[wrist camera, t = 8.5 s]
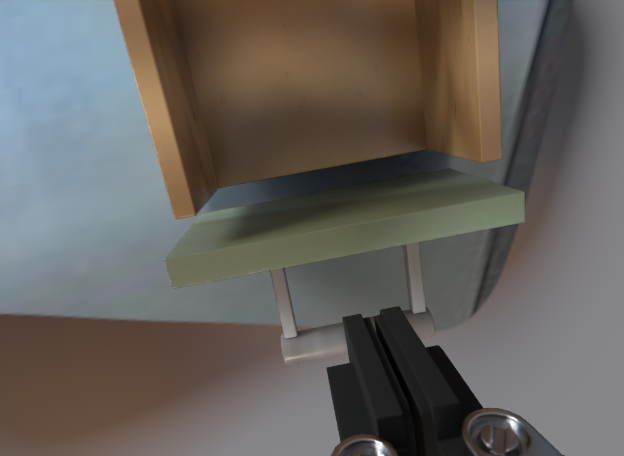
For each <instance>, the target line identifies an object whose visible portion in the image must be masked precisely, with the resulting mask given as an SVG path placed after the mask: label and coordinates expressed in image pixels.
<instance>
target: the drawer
mask: <svg viewBox="0 0 624 456" xmlns="http://www.w3.org/2000/svg"><path fill="white" fill-rule="evenodd" d="M113 2H114V6H115V9H116V13H117V16H118V20H119V23H120V27H121V30H122V34H123V37H124V41H125V44H126V48H127V52H128V55H129V59H130V62H131V66H132V69H133V73H134V76H135V80H136V83H137V87H138V90H139V94H140V98H141V101H142V105H143V108H144V112H145V115H146V119H147V122H148V126H149V129H150V133H151V136H152V140H153V144H154V147H155V151H156V154H157V158H158V161H159V165H160V168H161V172H162V175H163V179H164V182H165V186H166V189H167V193H168V197H169V200H170V204H171V207H172V211H173V214H174V217H175V219H180V218H185V217H191V216H195V215H197V213H198V212H199V211H200V210H201V209H202V207H203V206H204V205H205V204H206V203H207V202H208V200H209V199H210V198H211V197H212V196H213V194H214V193H215V192H216V191H217V190H218V188H222V187H227V186H233V185H238V184H244V183H249V182H255V181H260V180H265V179H271V178H276V177H282V176H287V175H293V174H298V173H304V172H309V171H315V170H320V169H325V168H331V167H336V166H342V165H347V164H353V163H358V162H364V161H369V160H375V159H380V158H385V157H391V156H396V155H402V154H407V153H413V152H418V151H424V150H431V151H435V152H439V153H443V154H448V155H452V156H456V157H460V158H465V159H469V160H473V161H477V162H482V163H483V162H489V161H494V160H500V159H502V133H501V100H500V68H499V35H498V3H497V0H113ZM522 222H525V193H524V192H523V191H520V190H516V189H513V188H510V187H507V186H504V185H501V184H497V183H494V182H491V181H488V180H485V179H481V178H478V177H475V176H472V175H469V174H466V173H462V172H459V171H456V170H453V169H450V168H446V169H441V170H436V171H430V172H425V173H419V174H414V175H408V176H403V177H398V178H392V179H387V180H381V181H376V182H371V183H365V184H360V185H354V186H349V187H344V188H338V189H333V190H327V191H322V192H317V193H311V194H306V195H300V196H295V197H290V198H284V199H279V200H273V201H268V202H263V203H257V204H252V205H246V206H241V207H235V208H230V209H225V210H219V211H214V212H208V213H203V214H200V216H199V217H198V218H197V219H196V221H195V222H194V223H193V224H192V226H191V227H190V228H189V229H188V231H187V232H186V233H185V234H184V236H183V237H182V238H181V239H180V241H179V242H178V243H177V244H176V246H175V247H174V248H173V249H172V251H171V252H170V253H169V254H168V256H167V257H166V258H165V260H164V261H165V264H166V268H167V271H168V274H169V278H170V281H171V284H172V287H173V288H174V289H175V288H180V287H185V286H190V285H196V284H201V283H206V282H211V281H217V280H222V279H227V278H233V277H238V276H243V275H248V274H254V273H259V272H264V271H269V270H270V272H271V277H272V282H273V286H274V291H275V295H276V300H277V304H278V309H279V314H280V318H281V323H282V327H283V332H284V334H282V335H281V345H282V351H283V357H284V361H285V364H286V365H290V364H295V363H300V362H305V361H310V360H315V359H321V358H326V357H331V356H335V355H341V354H346V353H348V349H347V343H346V337H345V331H344V325H343V323H337V324H332V325H327V326H322V327H317V328H312V329H307V330H301V331H297V326H296V321H295V317H294V312H293V307H292V302H291V297H290V292H289V288H288V283H287V278H286V273H285V267H290V266H296V265H301V264H306V263H312V262H317V261H322V260H327V259H333V258H338V257H343V256H348V255H354V254H359V253H364V252H369V251H375V250H380V249H385V248H390V247H396V246H401V245H403V251H404V260H405V269H406V278H407V287H408V296H409V305H410V309H409V310H404V311H402V312H403V313H404V315H405V316H406V318H407V319H408V321H409V323H410V324H411V326H412V327H413V329H414V330H415V332H416V334H417V335H418V337H419V338H420V339H422V338H426V337H432V336H434V334H435V327H434V322H433V318H432V315H431V313H430V311H429V309H428V308H427V307H425V298H424V287H423V277H422V267H421V257H420V246H419V242H422V241H427V240H433V239H438V238H443V237H448V236H454V235H459V234H464V233H469V232H475V231H480V230H485V229H491V228H496V227H501V226H506V225H512V224H517V223H522ZM369 318H370V320H371V322H372V324H373V327H374V329H375V322H374V316H373V317H369ZM375 331H376V329H375Z"/></svg>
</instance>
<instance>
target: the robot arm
mask: <svg viewBox="0 0 624 456" xmlns="http://www.w3.org/2000/svg"><path fill="white" fill-rule="evenodd" d="M374 322H375V329H376V331H375V329H374V327H373V324H372V322H371V320H370V318H369V317H367V318H363V317H362V315H361V314H357V315H352V316H346V317H343V325H344V331H345V337H346V343H347V349H348V355H349V361H350V363H347V364H342V365H337V366H332V367H327V373H328V379H329V384H330V389H331V395H332V400H333V405H334V410H335V416H336V421H337V426H338V431H339V436H340V441H341V443H340V444H339V445H337V446H336V447H335V449H334V451H333V453H332V454H331V456H564V455H562V454H561V453H560V452H559V451H558V450H557V449H556V448H555V447H554V446H553V445H552V444H551V443H549V442H548V441H547V440H546V439H545V438H544V437H543V436H542V435H541V434H540V433H539V432H538V431H537V430H536V429H535V428H534V427H533V426H532V425H531V424H529V423H528V422H527V421H526V420H524V419H523V418H522V417H521V416H519V415H517V414H514V413H512V412H510V411H507V410H503V409H499V408H483V407H482V405H481V404H480V403H479V401H478V400H477V398H476V397H475V396H474V394H473V393H472V391H471V390H470V388H469V387H468V385H467V384H466V383H465V381H464V380H463V379H462V377H461V375H460V374H459V373H458V371H457V370H456V368H455V367H454V365H453V364H452V363H451V361H450V360H449V358H448V357H447V355H446V354H445V353H444V351H443V350H442V349H441V347H440V346H438V345H437V346H432V347H426V348H425V346H424V345H423V343H422V342H421V340H420V338H419V337H418V335H417V334H416V332H415V330H414V329H413V327H412V326H411V324H410V323H409V321H408V319H407V318H406V316H405V315H404V313H403V312H402V310H401V308H400V307H399V306H397V307H392V308H387V309H382V310H380V315H377V316H374Z"/></svg>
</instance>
